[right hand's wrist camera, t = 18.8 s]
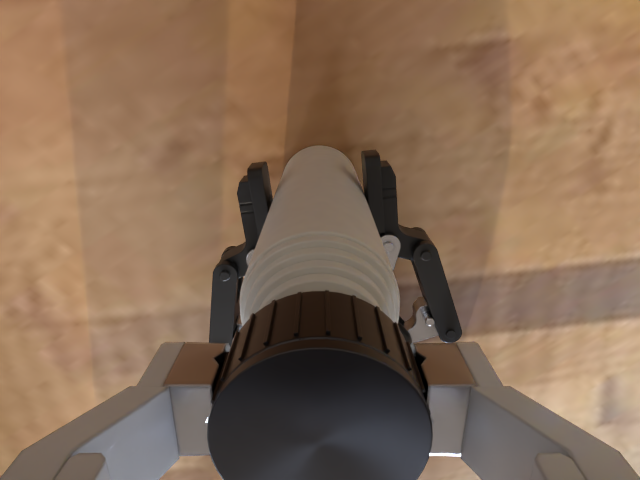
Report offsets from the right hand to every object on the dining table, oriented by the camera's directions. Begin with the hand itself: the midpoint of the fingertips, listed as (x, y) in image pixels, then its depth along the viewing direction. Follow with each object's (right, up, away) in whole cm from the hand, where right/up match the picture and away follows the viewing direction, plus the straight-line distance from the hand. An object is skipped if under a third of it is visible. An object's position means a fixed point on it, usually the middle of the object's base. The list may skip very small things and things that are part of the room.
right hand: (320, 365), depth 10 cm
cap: (0, -1, -2) cm, 2 cm away
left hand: (0, +7, +10) cm, 12 cm away
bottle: (0, +7, +17) cm, 18 cm away
